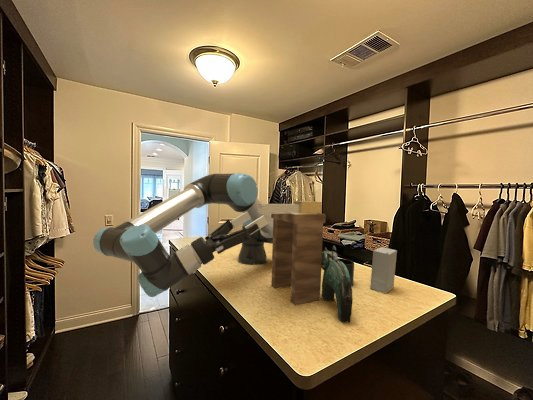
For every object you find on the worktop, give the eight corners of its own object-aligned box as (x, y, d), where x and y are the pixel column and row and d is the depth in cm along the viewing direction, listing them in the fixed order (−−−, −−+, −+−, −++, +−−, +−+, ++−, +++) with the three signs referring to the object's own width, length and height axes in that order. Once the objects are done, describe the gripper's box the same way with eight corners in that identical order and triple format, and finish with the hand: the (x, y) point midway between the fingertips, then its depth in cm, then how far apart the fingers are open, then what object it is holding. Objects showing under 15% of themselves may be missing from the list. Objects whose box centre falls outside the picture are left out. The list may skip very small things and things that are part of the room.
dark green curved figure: (317, 295, 92) (319, 240, 91) (334, 295, 93) (337, 241, 92) (336, 324, 72) (339, 254, 72) (358, 323, 73) (361, 255, 72)
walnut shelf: (269, 286, 99) (271, 209, 98) (295, 282, 104) (297, 209, 103) (292, 306, 83) (295, 214, 82) (322, 300, 88) (325, 213, 87)
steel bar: (256, 212, 83) (257, 200, 83) (312, 212, 92) (313, 201, 92) (263, 214, 78) (263, 201, 78) (321, 213, 88) (321, 201, 87)
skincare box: (377, 284, 105) (379, 246, 105) (396, 289, 100) (398, 249, 100) (369, 289, 99) (370, 249, 99) (388, 294, 94) (390, 252, 94)
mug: (321, 282, 105) (321, 261, 105) (338, 277, 112) (339, 257, 112) (340, 290, 97) (341, 267, 97) (357, 283, 105) (358, 262, 104)
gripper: (195, 255, 85) (247, 222, 92) (212, 279, 62) (280, 233, 69) (184, 236, 83) (238, 204, 90) (197, 254, 60) (268, 209, 68)
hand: (256, 216), depth 80 cm, fingers open, 13 cm apart
